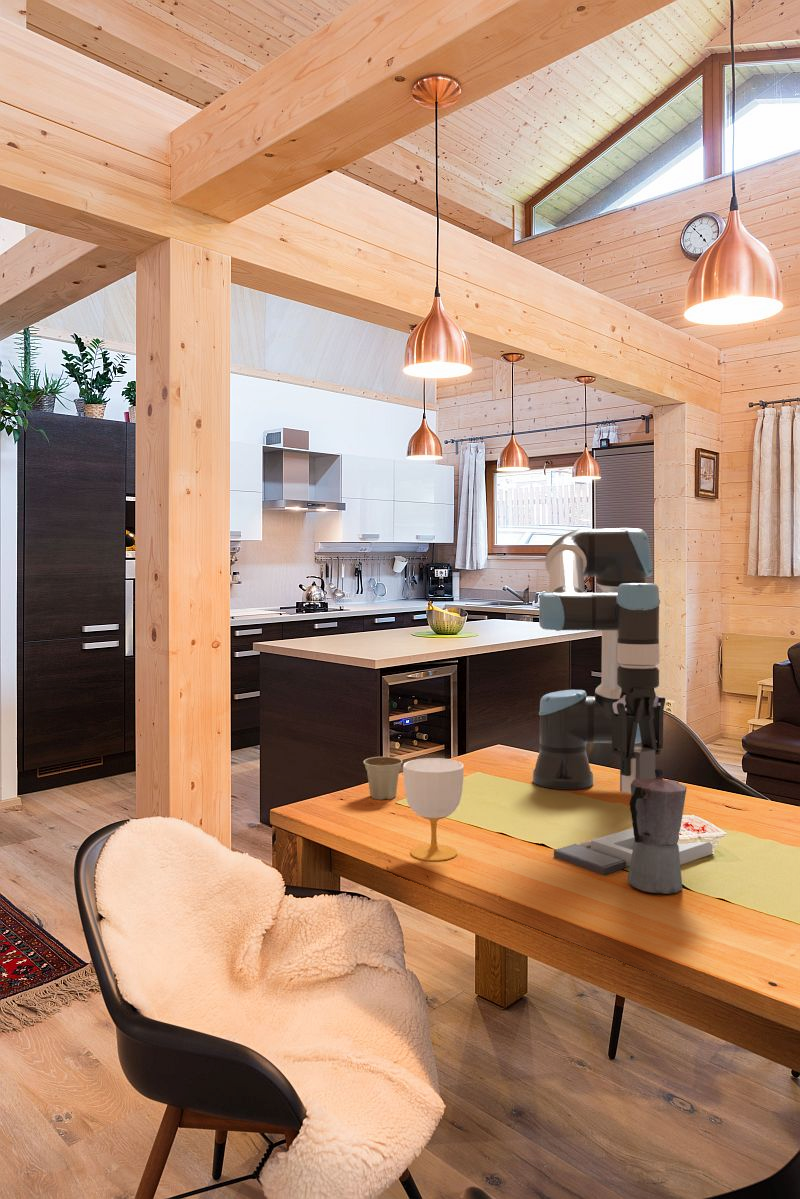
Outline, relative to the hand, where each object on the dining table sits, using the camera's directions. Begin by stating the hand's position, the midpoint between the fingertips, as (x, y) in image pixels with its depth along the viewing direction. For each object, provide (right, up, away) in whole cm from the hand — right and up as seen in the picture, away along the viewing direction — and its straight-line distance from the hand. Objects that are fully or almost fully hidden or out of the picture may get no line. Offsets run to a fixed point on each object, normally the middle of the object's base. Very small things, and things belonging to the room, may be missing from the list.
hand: (637, 789), depth 153 cm
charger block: (0, 0, 0) cm, 0 cm away
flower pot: (-49, -12, +44) cm, 67 cm away
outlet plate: (+3, -13, +3) cm, 13 cm away
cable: (-6, -13, +8) cm, 16 cm away
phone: (-9, -13, -2) cm, 16 cm away
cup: (-38, -13, +4) cm, 40 cm away
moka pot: (-1, -13, -14) cm, 19 cm away
